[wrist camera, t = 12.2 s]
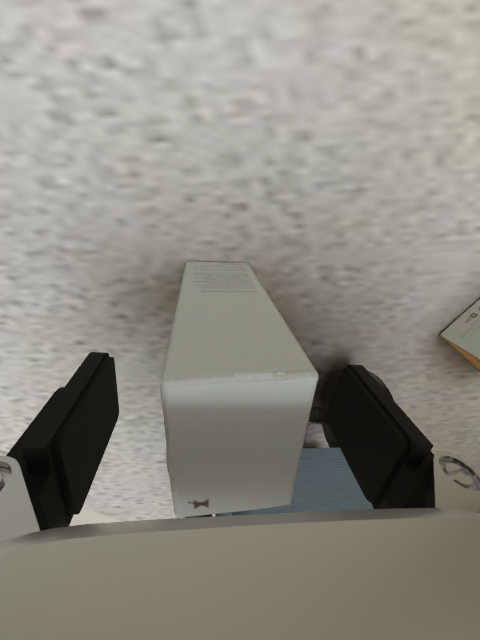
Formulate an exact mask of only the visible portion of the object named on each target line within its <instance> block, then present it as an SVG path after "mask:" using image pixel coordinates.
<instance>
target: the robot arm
mask: <svg viewBox="0 0 480 640" xmlns="http://www.w3.org/2000/svg"><path fill="white" fill-rule="evenodd" d="M118 415H119V405H118V394H117V384H116V373H115V363H114V358H113V357H109V354H108V353H98V352H91V353H90V354H89V355H88V356H87V357H86V359H85V360H84V362H83V363H82V364H81V366H80V367H79V368H78V370H77V371H76V372H75V374H74V375H73V376H72V378H71V379H70V381H69V382H68V383H67V385H66V386H65V387H61V388H59V389H58V390H57V391H56V392H55V393H54V394H53V395H52V397H51V398H50V399H49V401H48V402H47V403H46V404H45V406H44V407H43V408H42V410H41V411H40V412H39V414H38V415H37V416H36V418H35V419H34V420H33V421H32V423H31V424H30V425H29V427H28V428H27V429H26V431H25V432H24V433H23V435H22V436H21V437H20V438H19V440H18V441H17V442H16V444H15V445H14V446H13V448H12V449H11V450H10V452H9V453H8V454H7V455H6V456H0V640H480V472H479V471H477V470H476V469H475V468H474V467H473V466H472V465H471V464H469V463H468V462H467V461H465V460H463V459H462V458H460V457H458V456H456V455H453V454H451V453H447V452H438V453H436V454H435V455H433V453H432V452H431V451H430V450H431V449H432V447H433V445H432V444H431V443H430V441H429V440H428V439H427V438H426V437H425V436H424V435H423V433H422V432H421V431H420V430H419V429H418V428H417V427H416V426H415V424H414V423H413V422H412V421H411V420H410V419H409V418H408V416H407V415H406V414H405V413H404V412H403V411H402V410H401V408H400V407H399V406H398V405H397V404H396V403H395V402H394V400H393V399H392V398H391V397H390V396H389V395H388V394H387V393H386V391H385V390H384V389H383V388H382V387H381V386H380V385H379V383H378V382H377V381H376V380H375V379H374V378H373V377H372V375H371V374H370V373H369V372H368V371H367V370H366V369H365V368H364V367H363V366H362V365H347V366H346V368H343V369H342V371H341V374H340V377H339V379H338V382H337V385H336V387H335V390H334V393H333V395H332V398H331V401H330V403H329V406H328V409H327V411H326V421H327V424H328V426H329V428H330V430H331V431H332V433H333V435H334V437H335V439H336V441H337V443H338V445H339V447H340V449H341V451H342V453H343V455H344V457H345V459H346V461H347V463H348V465H349V467H350V469H351V471H352V473H353V475H354V477H355V479H356V481H357V483H358V485H359V487H360V488H361V490H362V492H363V494H364V496H365V498H366V499H367V501H369V502H371V504H372V506H373V508H374V509H370V510H345V511H320V512H298V513H276V514H255V515H234V516H215V517H196V518H177V519H157V520H140V521H126V522H113V523H98V524H86V525H77V526H69V524H70V522H71V519H72V517H73V515H74V514H79V513H80V511H81V509H82V507H83V504H84V502H85V499H86V497H87V494H88V492H89V489H90V487H91V484H92V482H93V479H94V477H95V474H96V472H97V469H98V467H99V464H100V462H101V459H102V457H103V454H104V452H105V449H106V447H107V444H108V442H109V439H110V437H111V434H112V432H113V429H114V427H115V424H116V422H117V419H118Z"/></svg>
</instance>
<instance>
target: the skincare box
mask: <svg viewBox="0 0 480 640" xmlns="http://www.w3.org/2000/svg"><path fill="white" fill-rule="evenodd" d="M317 382H318V373H317V371H316V370H315V368H314V367H313V365H312V364H311V362H310V361H309V359H308V357H307V356H306V354H305V352H304V351H303V349H302V348H301V346H300V345H299V343H298V341H297V340H296V338H295V337H294V335H293V334H292V332H291V330H290V329H289V327H288V326H287V324H286V322H285V321H284V319H283V318H282V316H281V314H280V313H279V311H278V310H277V308H276V307H275V305H274V303H273V302H272V300H271V299H270V297H269V295H268V294H267V292H266V291H265V289H264V287H263V286H262V284H261V283H260V281H259V280H258V278H257V276H256V275H255V273H254V272H253V270H252V269H251V267H250V265H249V264H248V263H245V262H232V263H230V262H194V261H189V262H186V265H185V270H184V275H183V280H182V284H181V289H180V293H179V298H178V302H177V307H176V311H175V316H174V320H173V325H172V330H171V334H170V340H169V344H168V349H167V354H166V359H165V364H164V368H163V373H162V377H161V383H160V389H161V398H162V406H163V414H164V425H165V434H166V446H167V449H166V458H167V468H168V472H169V475H170V483H171V490H172V497H173V505H174V512H175V516H177V517H191V516H200V515H209V514H218V513H227V512H238V511H246V510H257V509H264V508H272V507H278V506H283V505H288V504H290V503H291V501H292V496H293V491H294V487H295V482H296V478H297V473H298V469H299V464H300V459H301V454H302V449H303V444H304V439H305V434H306V430H307V425H308V421H309V416H310V411H311V406H312V402H313V398H314V393H315V389H316V385H317Z"/></svg>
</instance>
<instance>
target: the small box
mask: <svg viewBox="0 0 480 640" xmlns="http://www.w3.org/2000/svg"><path fill="white" fill-rule="evenodd" d="M440 336H441V337H442V338H444V339H445V340H446V341H447V342H449V343H450V344H451V345H452V346H453V347H454V348H455V349H457V350H458V351H459V352H460V353H461V354H462V355H463V356H464V357H465V358H466V359H467V360H468V361H470V362H471V363H472V364H473V365H474V366H475V367H476V368H477V369H478V370H479V371H480V299H479V300H478V301H477V302H476V303H475V304H474V305H472V306H471V307H470V308H469V309H468V310H467V311H465V312H464V313H463V314H462V315H461V316H460V317H459V318H458V319H457V320H455V321H454V322H453V323H452V324H451V325H450V326H449V327H448V328H447V329H446V330H444V331H443V332H442V333H441V334H440Z"/></svg>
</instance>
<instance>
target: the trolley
mask: <svg viewBox="0 0 480 640" xmlns="http://www.w3.org/2000/svg"><path fill="white" fill-rule="evenodd" d="M341 371H342V369H339V370H335V371H333V372H331V373H330V374H329V375H328V377H327V378H326V380H325V382H324V384H323V387H322V392H321V398H320V407H311V411H310V416H309V421H308V424H322V427H323V431H324V434H325V437H326V440H327V443H328V445H329V447H330V448H303V449H302V454H301V459H300V464H299V469H298V473H297V478H296V482H295V487H294V491H293V496H292V501H291V503H290V504H288V505H283V506H278V507H272V508H264V509H257V510H246V511H238V512H227V513H218V514H216V516H234V515H255V514H276V513H298V512H320V511H345V510H370V509H374V508H373V506H372V504H371V502H369V501H367V499H366V498H365V496H364V494H363V492H362V490H361V488H360V487H359V485H358V483H357V481H356V479H355V477H354V475H353V473H352V471H351V469H350V467H349V465H348V463H347V461H346V459H345V457H344V455H343V453H342V451H341V449H340V447H339V445H338V443H337V441H336V439H335V437H334V435H333V433H332V431H331V430H330V428H329V426H328V424H327V421H326V411H327V409H328V406H329V403H330V401H331V398H332V395H333V393H334V390H335V387H336V385H337V382H338V379H339V377H340V374H341ZM368 372H369V371H368ZM369 373H370V374H371V375H372V377H373V378H374V379H375V380H376V381H377V382H378V383H379V385H380V386H381V387H382V388H383V389H384V390H385V391H386V393H387V394H388V395H389V396H390V397H391V398H392V399H393V397H392V395H391V393H390V391H389V390H388V388H387V387H386V385H385V384H384V383H383V381H382V380H381V379H380V378H379V377H378V376H376V375H375V374H373V373H371V372H369ZM196 517H212V514H209V515H200V516H191V517H185V518H196Z"/></svg>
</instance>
